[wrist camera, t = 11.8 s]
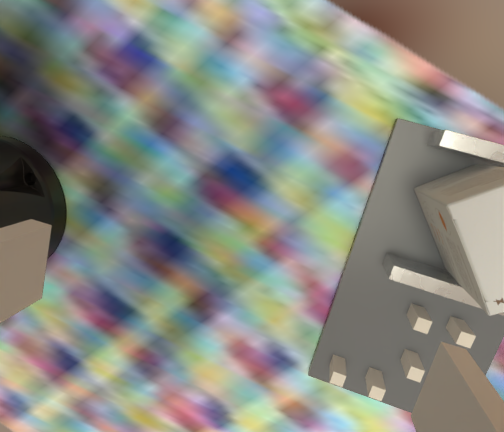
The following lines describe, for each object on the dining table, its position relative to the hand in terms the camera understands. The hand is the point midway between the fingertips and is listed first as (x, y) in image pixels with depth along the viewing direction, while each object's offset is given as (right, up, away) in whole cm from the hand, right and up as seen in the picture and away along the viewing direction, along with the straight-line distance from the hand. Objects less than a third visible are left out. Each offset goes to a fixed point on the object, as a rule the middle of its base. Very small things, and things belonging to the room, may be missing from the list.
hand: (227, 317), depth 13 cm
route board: (+17, -3, +24) cm, 29 cm away
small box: (+19, +3, +22) cm, 29 cm away
